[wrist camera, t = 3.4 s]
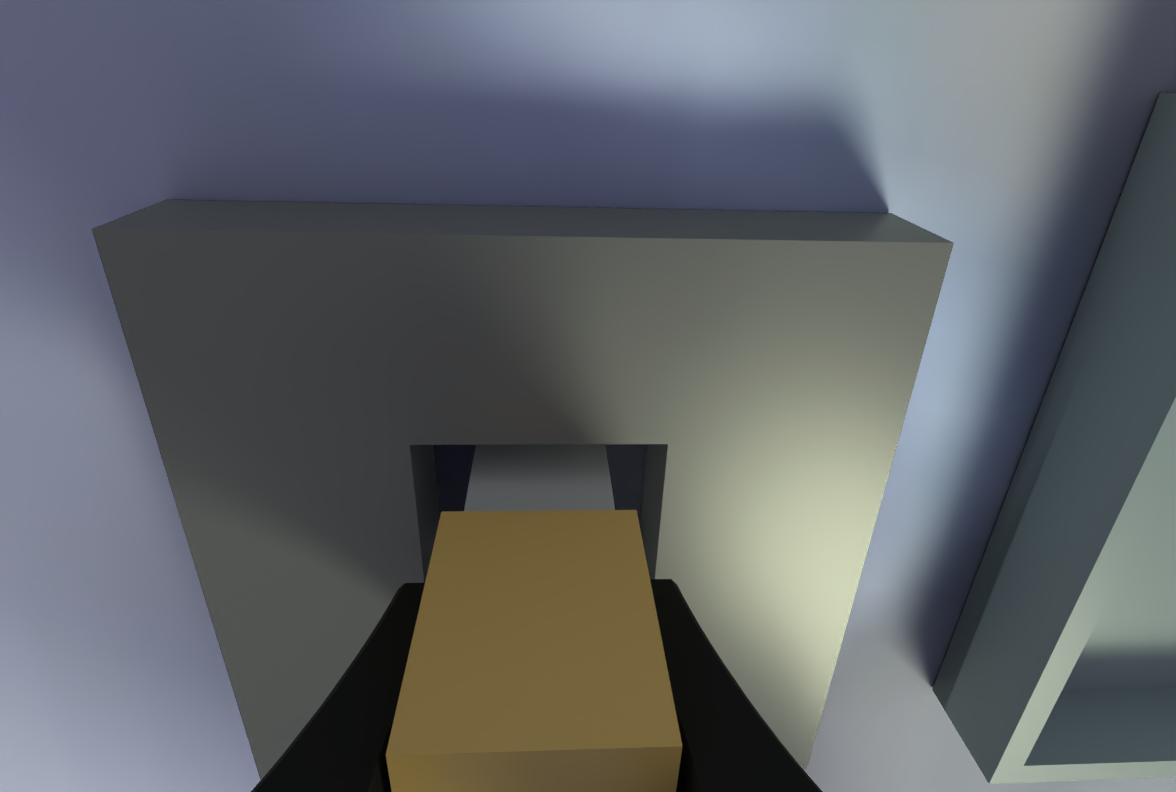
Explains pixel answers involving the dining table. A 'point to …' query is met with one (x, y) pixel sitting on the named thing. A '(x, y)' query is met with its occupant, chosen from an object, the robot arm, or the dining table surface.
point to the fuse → (536, 640)
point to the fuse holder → (521, 408)
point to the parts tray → (1088, 530)
